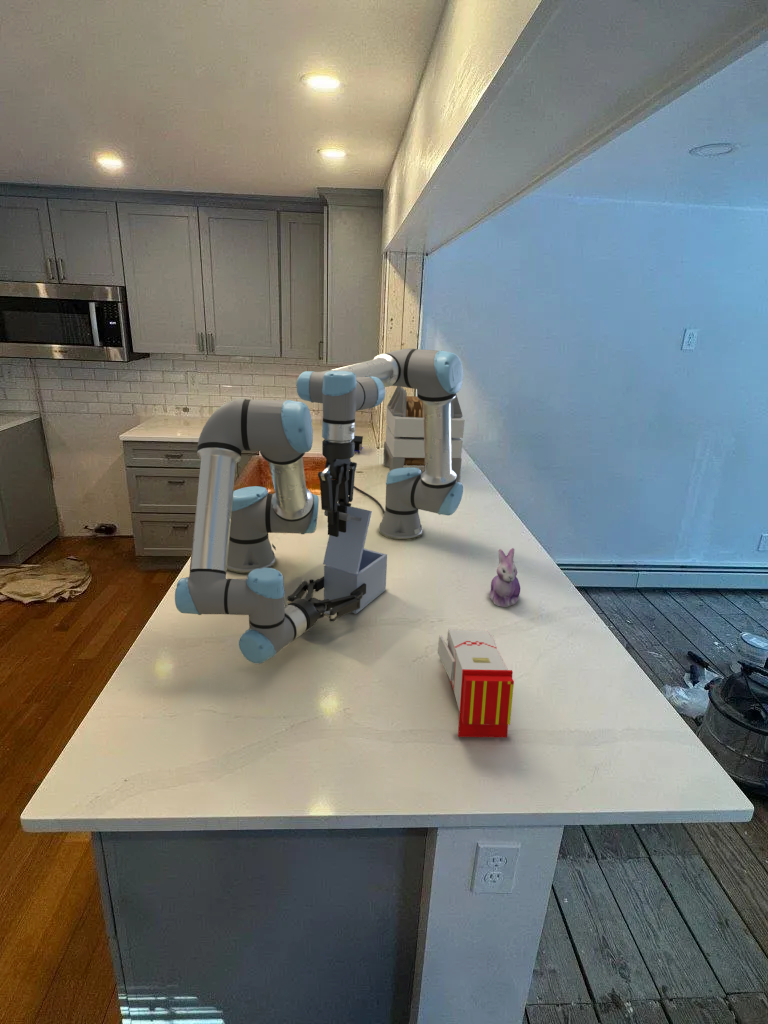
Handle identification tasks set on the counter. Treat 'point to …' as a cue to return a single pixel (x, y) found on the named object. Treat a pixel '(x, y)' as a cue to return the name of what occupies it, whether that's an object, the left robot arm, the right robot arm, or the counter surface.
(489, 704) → the toy
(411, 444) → the white slatted crate
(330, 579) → the chest
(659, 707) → the counter surface
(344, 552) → the lid
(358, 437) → the figurine character
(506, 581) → the figurine
